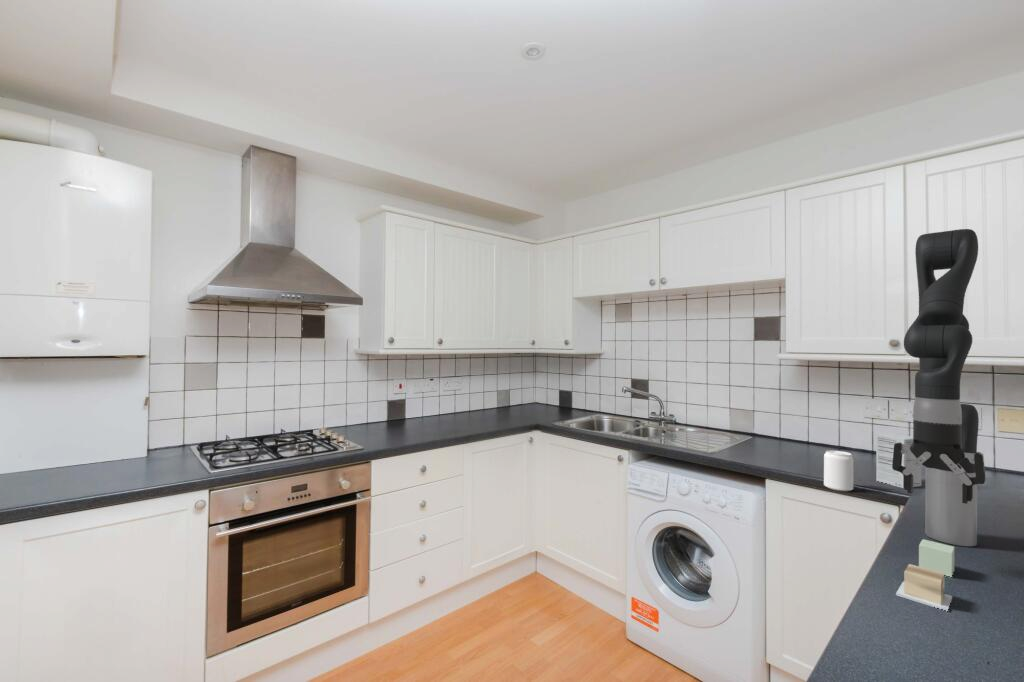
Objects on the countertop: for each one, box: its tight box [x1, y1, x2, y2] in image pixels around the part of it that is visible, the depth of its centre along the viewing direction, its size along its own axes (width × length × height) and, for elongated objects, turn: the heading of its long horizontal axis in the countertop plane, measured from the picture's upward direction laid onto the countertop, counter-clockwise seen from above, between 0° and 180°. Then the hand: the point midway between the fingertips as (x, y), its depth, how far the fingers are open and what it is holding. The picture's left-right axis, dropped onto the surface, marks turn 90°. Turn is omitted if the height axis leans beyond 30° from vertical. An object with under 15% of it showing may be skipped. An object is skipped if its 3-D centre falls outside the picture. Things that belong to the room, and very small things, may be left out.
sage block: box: [918, 538, 955, 578], centre depth 97 cm, size 5×5×5 cm
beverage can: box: [823, 449, 854, 492], centre depth 156 cm, size 8×8×12 cm
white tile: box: [895, 580, 953, 612], centre depth 85 cm, size 7×7×1 cm
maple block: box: [903, 563, 945, 605], centre depth 86 cm, size 5×5×4 cm
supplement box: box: [875, 433, 922, 489], centre depth 164 cm, size 10×9×17 cm
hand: (936, 497), depth 97 cm, fingers open, 8 cm apart
